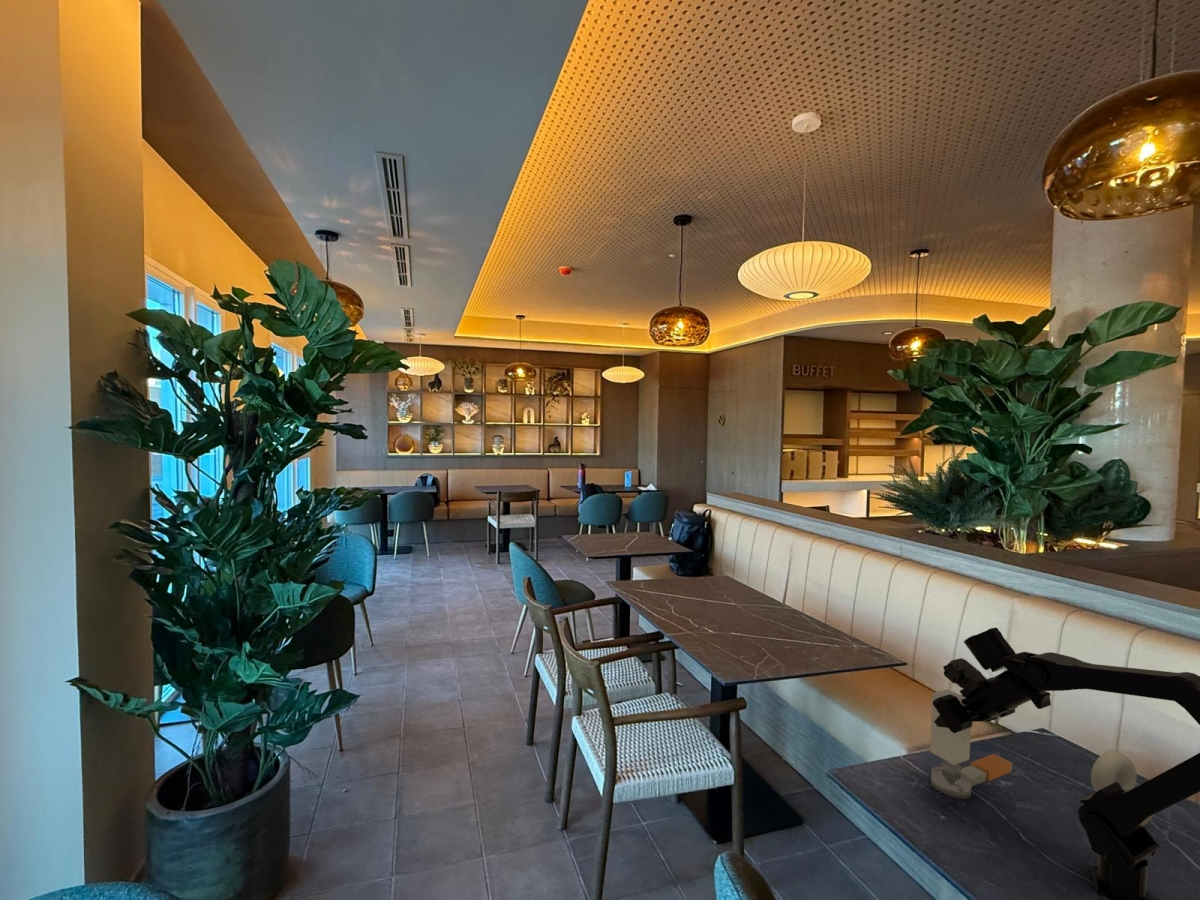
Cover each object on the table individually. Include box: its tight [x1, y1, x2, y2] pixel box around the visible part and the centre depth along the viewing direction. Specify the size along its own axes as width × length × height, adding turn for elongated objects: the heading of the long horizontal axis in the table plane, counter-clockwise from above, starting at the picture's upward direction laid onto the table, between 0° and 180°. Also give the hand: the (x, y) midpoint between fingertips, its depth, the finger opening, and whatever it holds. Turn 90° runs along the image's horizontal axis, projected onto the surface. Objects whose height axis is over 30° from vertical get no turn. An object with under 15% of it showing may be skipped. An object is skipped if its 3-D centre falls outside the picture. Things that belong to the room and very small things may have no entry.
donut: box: [1090, 750, 1137, 792], centre depth 111 cm, size 10×4×10 cm, turn 105°
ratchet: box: [930, 753, 1013, 800], centre depth 117 cm, size 22×7×5 cm, turn 115°
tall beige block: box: [929, 688, 972, 765], centre depth 113 cm, size 5×5×12 cm
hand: (944, 721), depth 115 cm, fingers closed on tall beige block, 5 cm apart
